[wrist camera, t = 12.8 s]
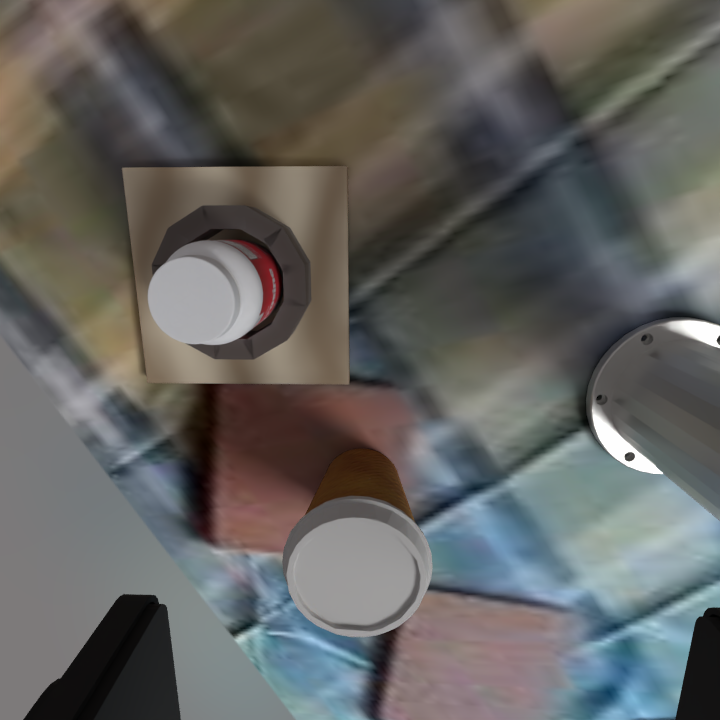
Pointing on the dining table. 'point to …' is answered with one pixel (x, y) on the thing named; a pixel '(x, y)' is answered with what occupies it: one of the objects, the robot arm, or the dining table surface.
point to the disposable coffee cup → (358, 550)
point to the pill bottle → (215, 291)
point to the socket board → (269, 229)
